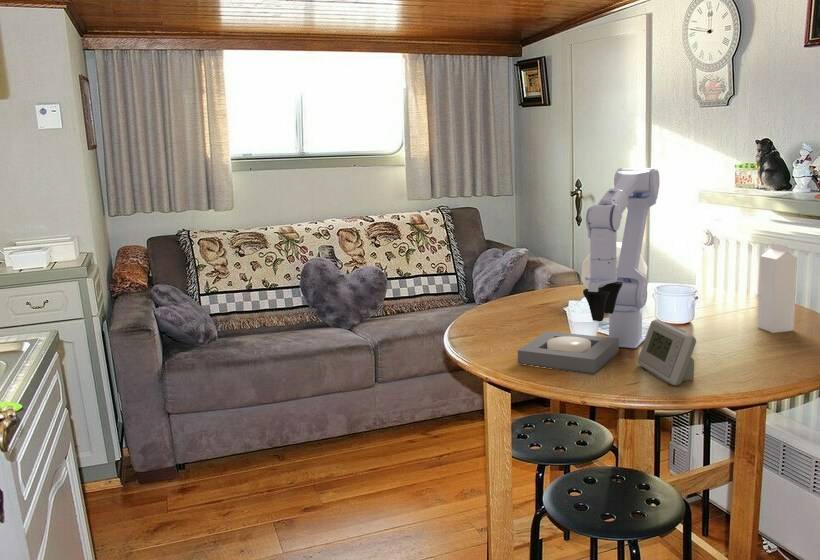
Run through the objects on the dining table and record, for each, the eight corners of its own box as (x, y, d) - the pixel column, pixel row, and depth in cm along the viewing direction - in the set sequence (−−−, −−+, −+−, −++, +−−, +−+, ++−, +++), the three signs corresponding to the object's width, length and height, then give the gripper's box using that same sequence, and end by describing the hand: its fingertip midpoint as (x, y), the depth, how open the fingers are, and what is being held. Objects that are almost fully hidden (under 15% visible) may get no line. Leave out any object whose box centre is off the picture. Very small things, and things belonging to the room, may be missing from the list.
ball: (630, 326, 220) (657, 282, 206) (567, 304, 222) (590, 258, 207) (634, 285, 233) (661, 241, 219) (575, 265, 235) (597, 219, 221)
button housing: (547, 344, 182) (546, 331, 181) (618, 352, 172) (618, 338, 172) (517, 364, 167) (517, 350, 166) (594, 374, 157) (594, 359, 157)
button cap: (556, 347, 176) (556, 334, 176) (596, 352, 171) (596, 338, 170) (540, 358, 168) (540, 345, 167) (582, 363, 163) (582, 350, 162)
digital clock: (635, 364, 163) (636, 318, 161) (676, 363, 163) (677, 317, 161) (657, 388, 147) (657, 338, 145) (701, 387, 147) (703, 336, 145)
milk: (772, 333, 182) (776, 246, 178) (756, 327, 188) (760, 243, 183) (794, 330, 183) (798, 244, 179) (777, 325, 189) (781, 241, 185)
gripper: (596, 252, 171) (596, 308, 173) (574, 262, 159) (575, 322, 161) (626, 253, 167) (625, 311, 169) (606, 264, 155) (606, 325, 157)
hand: (603, 316), depth 165 cm, fingers open, 7 cm apart
